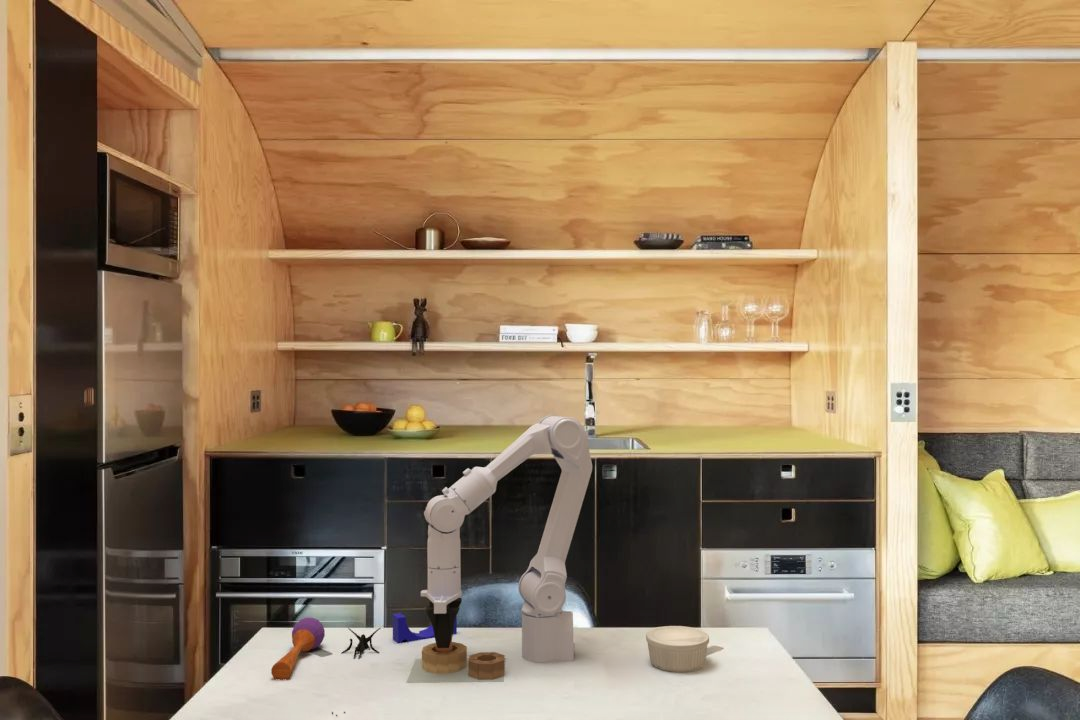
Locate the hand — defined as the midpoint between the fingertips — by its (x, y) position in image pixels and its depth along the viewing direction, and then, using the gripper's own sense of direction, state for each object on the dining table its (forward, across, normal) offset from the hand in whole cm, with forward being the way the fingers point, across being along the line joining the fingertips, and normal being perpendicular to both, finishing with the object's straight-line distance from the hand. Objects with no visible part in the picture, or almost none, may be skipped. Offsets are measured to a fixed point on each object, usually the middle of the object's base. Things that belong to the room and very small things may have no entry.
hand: (444, 644), depth 152 cm
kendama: (+5, -7, -27) cm, 29 cm away
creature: (+5, -8, -16) cm, 18 cm away
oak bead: (+4, 0, 0) cm, 4 cm away
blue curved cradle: (+5, -18, -6) cm, 20 cm away
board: (+5, +2, +2) cm, 6 cm away
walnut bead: (+4, +4, +8) cm, 9 cm away
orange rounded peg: (+2, 0, 0) cm, 2 cm away
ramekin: (+5, -3, +41) cm, 41 cm away
